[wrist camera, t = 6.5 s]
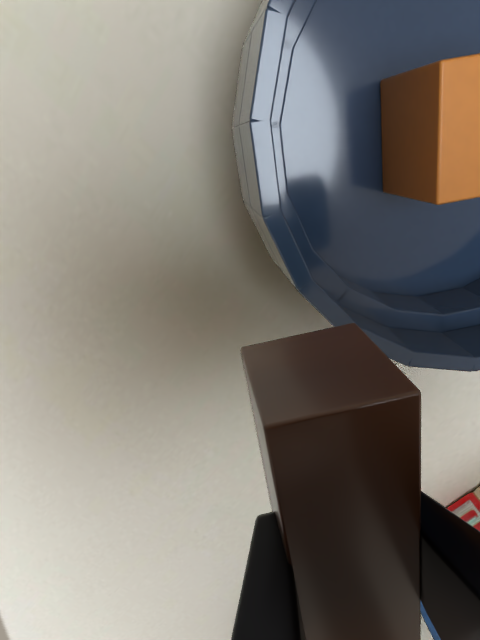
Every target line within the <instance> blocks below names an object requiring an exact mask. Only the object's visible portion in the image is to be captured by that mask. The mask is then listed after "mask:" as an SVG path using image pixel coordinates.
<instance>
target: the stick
mask: <svg viewBox="0 0 480 640" xmlns="http://www.w3.org/2000/svg"><path fill="white" fill-rule="evenodd" d="M240 351H241V356H242V361H243V366H244V371H245V376H246V382H247V387H248V392H249V397H250V402H251V407H252V412H253V417H254V422H255V427H256V432H257V437H258V442H259V448H260V453H261V458H262V463H263V468H264V473H265V478H266V483H267V488H268V493H269V498H270V503H271V508H272V512H275V515H276V519H277V523H278V526H279V530H280V534H281V538H282V541H283V545H284V549H285V553H286V556H287V560H288V563H289V564H290V565H292V567H293V572H294V577H295V582H296V588H297V593H298V599H299V604H300V610H301V615H302V621H303V626H304V631H305V637H306V640H420V535H421V392H420V390H419V389H418V388H417V387H416V386H415V385H414V384H413V383H412V382H411V381H410V380H409V379H408V378H407V377H406V376H405V375H404V374H403V372H402V371H401V370H400V369H399V368H398V367H397V366H396V365H395V364H394V363H393V362H392V361H391V360H390V359H389V358H388V357H387V356H386V355H385V354H384V353H383V352H382V351H381V349H380V348H379V347H378V346H377V345H376V344H375V343H374V342H373V341H372V340H371V339H370V338H369V337H368V336H367V335H366V334H365V333H364V332H363V331H362V330H361V329H360V328H359V326H358V325H357V324H356V323H350V324H346V325H341V326H336V327H332V328H327V329H323V330H318V331H313V332H309V333H304V334H300V335H295V336H290V337H286V338H281V339H277V340H272V341H268V342H263V343H258V344H254V345H249V346H245V347H242V348H241V350H240Z"/></svg>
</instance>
